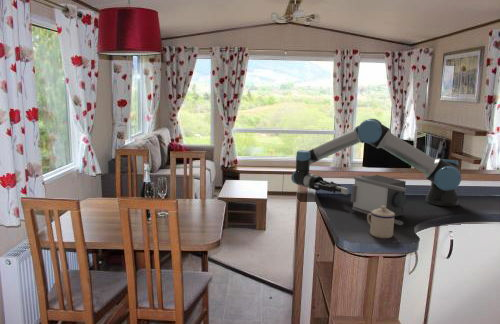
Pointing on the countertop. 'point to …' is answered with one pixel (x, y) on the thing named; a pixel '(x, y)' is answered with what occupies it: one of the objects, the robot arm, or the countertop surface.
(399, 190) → the small gray cabinet
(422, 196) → the countertop surface
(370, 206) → the side door
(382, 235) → the teacup with lid
